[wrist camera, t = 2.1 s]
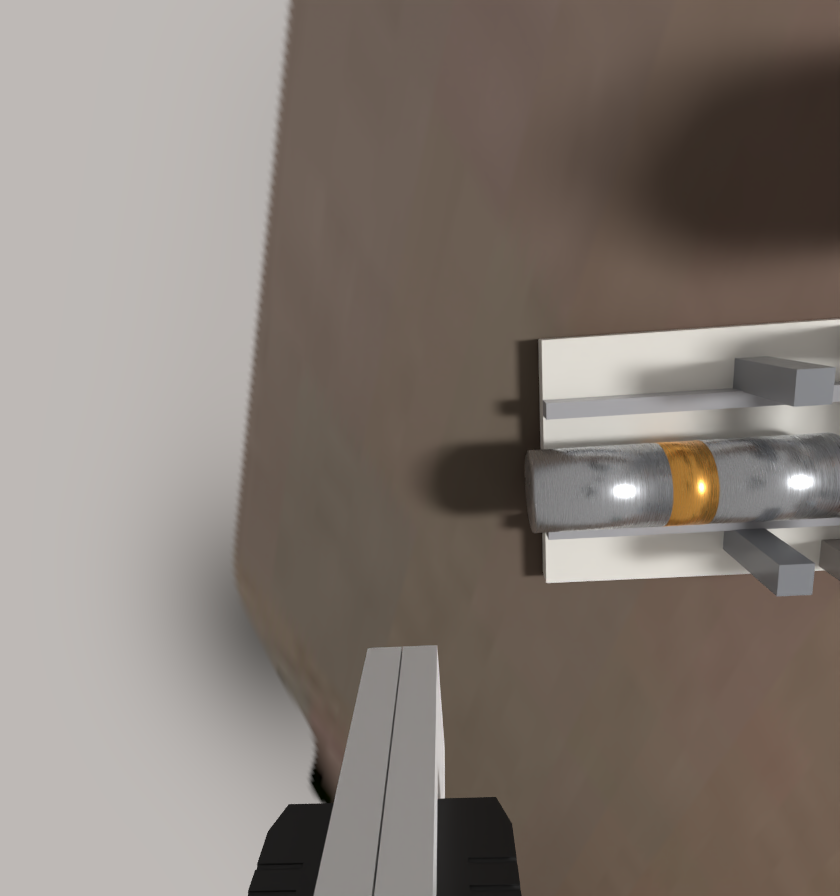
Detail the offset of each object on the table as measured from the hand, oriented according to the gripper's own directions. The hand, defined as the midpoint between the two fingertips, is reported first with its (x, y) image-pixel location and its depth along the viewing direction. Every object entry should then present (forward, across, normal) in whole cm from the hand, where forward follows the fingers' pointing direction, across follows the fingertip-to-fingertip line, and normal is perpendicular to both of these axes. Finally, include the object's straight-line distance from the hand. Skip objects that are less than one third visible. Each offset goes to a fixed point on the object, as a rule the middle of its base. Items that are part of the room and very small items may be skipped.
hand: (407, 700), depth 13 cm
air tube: (+17, +12, 0) cm, 21 cm away
